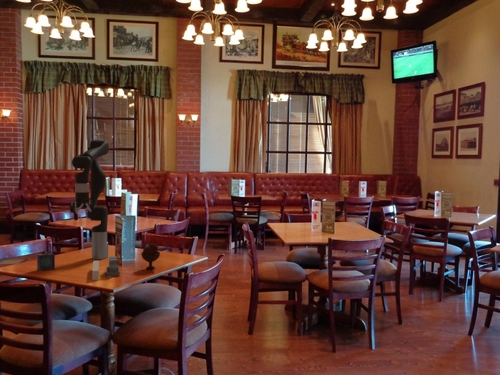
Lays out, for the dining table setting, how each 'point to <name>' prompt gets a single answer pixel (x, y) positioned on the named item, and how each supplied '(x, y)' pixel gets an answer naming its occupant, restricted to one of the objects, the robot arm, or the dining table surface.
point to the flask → (46, 261)
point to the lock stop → (113, 264)
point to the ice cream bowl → (150, 255)
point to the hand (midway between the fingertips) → (82, 219)
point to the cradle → (111, 274)
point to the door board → (95, 270)
